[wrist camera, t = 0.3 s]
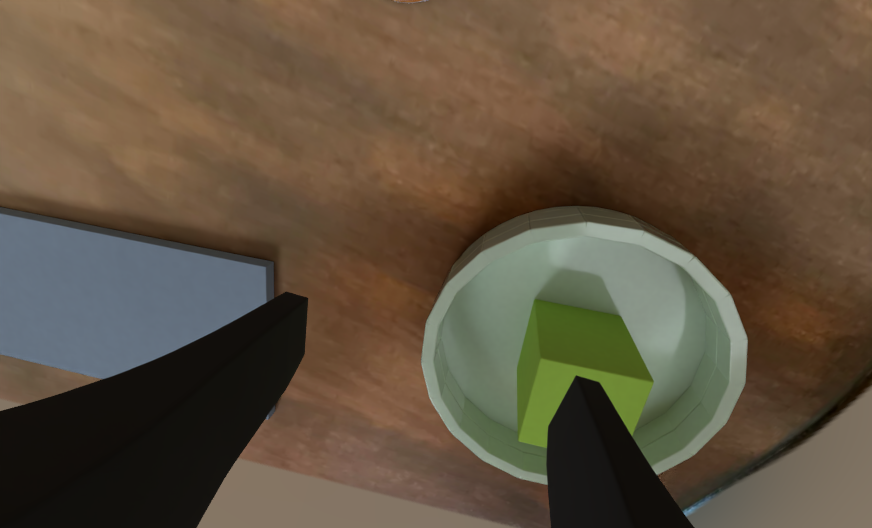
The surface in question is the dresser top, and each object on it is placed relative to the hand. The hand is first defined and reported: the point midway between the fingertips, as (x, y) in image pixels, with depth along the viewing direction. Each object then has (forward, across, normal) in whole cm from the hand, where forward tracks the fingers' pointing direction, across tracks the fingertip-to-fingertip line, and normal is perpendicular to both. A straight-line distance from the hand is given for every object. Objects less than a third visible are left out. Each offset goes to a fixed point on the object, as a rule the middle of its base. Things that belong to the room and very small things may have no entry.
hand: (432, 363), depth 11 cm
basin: (+9, -6, +4) cm, 12 cm away
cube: (+8, -6, +4) cm, 11 cm away
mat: (+9, +27, +12) cm, 31 cm away
